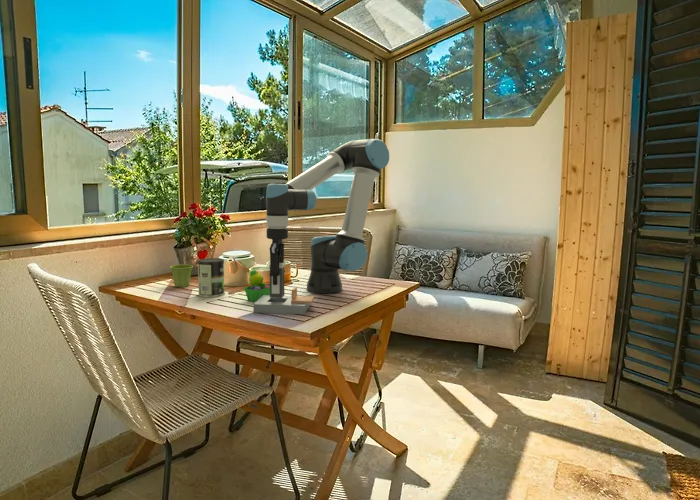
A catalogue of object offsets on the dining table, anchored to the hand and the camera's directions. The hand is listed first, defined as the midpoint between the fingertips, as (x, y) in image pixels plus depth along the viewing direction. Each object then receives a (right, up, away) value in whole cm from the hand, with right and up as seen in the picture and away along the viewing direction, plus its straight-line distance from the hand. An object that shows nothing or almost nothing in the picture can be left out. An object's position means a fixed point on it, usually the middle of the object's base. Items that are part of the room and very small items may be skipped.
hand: (277, 291), depth 180 cm
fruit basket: (-9, -4, +14) cm, 18 cm away
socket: (+2, -6, +1) cm, 6 cm away
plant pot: (-46, -1, +36) cm, 59 cm away
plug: (0, -2, 0) cm, 2 cm away
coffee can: (-30, -3, +21) cm, 36 cm away
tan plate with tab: (+9, -3, 0) cm, 10 cm away
